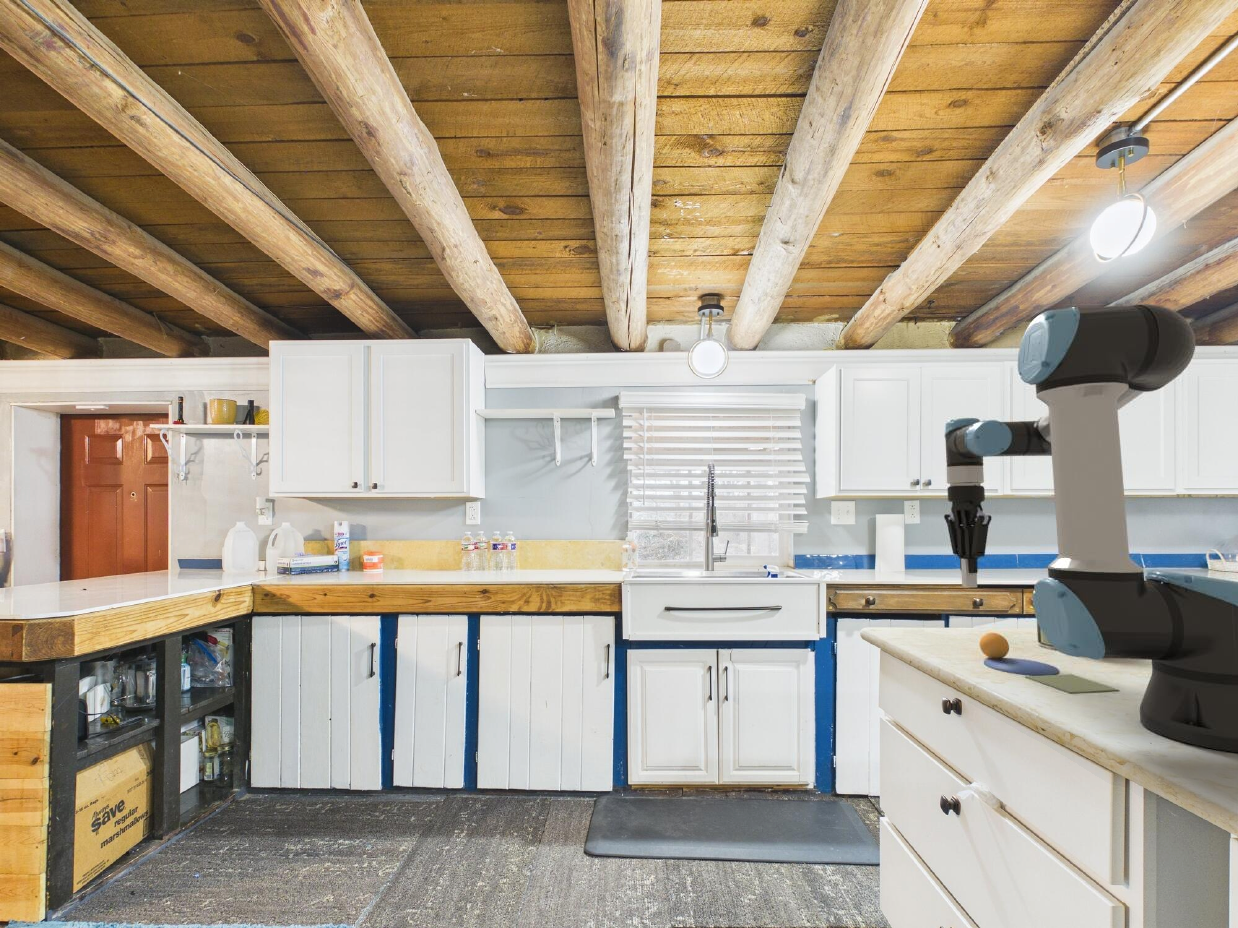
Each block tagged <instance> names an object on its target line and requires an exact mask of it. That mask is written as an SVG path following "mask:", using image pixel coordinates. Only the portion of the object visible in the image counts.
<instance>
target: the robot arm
mask: <svg viewBox="0 0 1238 928" xmlns="http://www.w3.org/2000/svg"><path fill="white" fill-rule="evenodd" d="M1195 350H1196V337H1195V332H1194V329H1193V328H1192V326H1191V325H1190V323H1189V322H1188V321H1187V320H1186V318H1185V317H1184V316H1182V315H1181V314H1180V313H1179V312H1177V311H1175V310H1173V309H1171V308H1167V307H1165V306H1162V305H1156V304H1149V303H1148V304H1145V303H1144V304H1134V305H1109V306H1084V307H1080V306H1079V307H1077V306H1071V307H1067V308H1062V309H1061V308H1060V309H1051V310H1046V311H1043V312H1042V313H1039V315H1037V316H1036V317H1035V318H1034V319H1033V320H1032V321H1031V322H1030V324H1029V325H1028V326H1027V328H1026V330H1025V332H1024V334H1023V337H1022V339H1021V342H1020V345H1019V350H1018V354H1017V370H1018V375H1019V376H1020V379H1021V380H1022V381H1023V382H1024V383H1026V384H1027V385H1031V386H1032V385H1033V386H1035V392H1036V393H1035V394H1036V398H1037V399H1038V400H1039V401H1041V402H1043V403H1044V404H1045V405H1046V406H1047V407H1048V411H1047V412H1046V413H1045V414H1044V415H1043V416H1041V417H1039V418H1038V419H1037V420H1024V421H1021V420H1020V421H999V420H996V419H987V420H980V419H979V418H976V417H962V418H955V419H949V420H948V421H947V422H946V423H945V427H944V428H945V429H944V432H945V433H944V439H945V441H944V442H945V456H946V457H945V458H946V483H947V484H948V485H949V486H948V487H947V501H948V502H950V503H952V504H951V509H950V510H951V512H950V513H948V514H944V516H943V518H944V520H945V522H946V525H947V529H948V534H949V539H950V540H949V541H950V545H951V550H952V554H953V555H954V556H955V555H956V556H957V557H958V558H959V562H960V568H959V569H960V572H961V587H962V588H966V589H967V588H968V589H969V588H970V589H971V588H972V589H973V588H978V571H979V569H978V559H980V558H982V557H983V558H984V557H985V554H986V548H987V547H986V546H987V540H988V534H989V532H988V531H989V526H990V523H991V521H992V518H993V517H992V515H990V514H989V515H988V514H986V513H984V512H983V511H984V509H983V506H982V503H983V502H985V500H986V496H985V495H986V494H985V493H986V492H985V487H984V485H982V484H983V483H985V478H984V476H985V475H984V458H985V457H986V458H987V457H1035V456H1037V457H1040V456H1041V457H1043V456H1044V457H1048V456H1050V457H1051V460H1052V461H1051V462H1052V478H1053V493H1054V505H1055V506H1054V507H1055V520H1056V521H1055V522H1056V537H1057V548H1058V549H1057V550H1058V555H1057V557H1056V558H1055V559H1054V560H1052V561H1051V562H1050V564H1048V565H1047V575H1048V577H1044V578H1042V579H1039V580H1038V581H1037V582H1036V583H1035V584H1034V585H1035V587H1034V586H1033V587H1034V590H1033V593H1032V605H1033V611H1034V616H1035V618H1036V623H1037V622H1038V624H1039V626H1040V628H1041V630H1042V632H1043V634H1044V635H1045V637H1046V638H1047V640H1048V641H1049V643H1050V644H1051V645H1052V646H1053V647H1054V648H1056V649H1057V650H1056V651H1058V652H1060V653H1061V654H1064V655H1066V656H1069V657H1077V658H1089V659H1092V660H1101V659H1112V660H1114V659H1116V660H1145V661H1146V660H1147V661H1148V660H1149V661H1150V660H1151V676H1150V679H1149V681H1148V684H1147V687H1146V689H1145V692H1144V695H1143V698H1142V700H1141V703H1140V706H1139V721H1140V724H1141V725H1142V726H1143V727H1145V728H1146V729H1148V730H1150V731H1151V732H1153V733H1156V734H1158V735H1161V736H1164V737H1165V738H1169V739H1173V740H1176V741H1178V742H1183V743H1186V744H1190V745H1193V746H1198V747H1199V746H1200V747H1203V748H1208V749H1214V750H1219V751H1226V752H1233V753H1238V581H1236V580H1235V581H1234V580H1230V579H1222V578H1215V577H1208V576H1207V577H1206V576H1201V575H1194V574H1193V575H1192V574H1187V573H1178V572H1171V571H1163V570H1155V569H1150V570H1147V572H1146V575H1145V573H1144V572H1145V571H1144V568H1143V567H1141V566H1140V565H1139V564H1137V563H1136V562H1135V561H1133V560H1132V558H1131V557H1130V549H1129V536H1128V525H1127V510H1126V501H1125V499H1126V497H1125V488H1124V487H1125V486H1124V477H1123V475H1124V473H1123V462H1122V449H1121V440H1120V439H1121V438H1120V437H1121V436H1120V424H1119V413H1118V411H1119V410H1120V409H1122V408H1123V407H1125V406H1126V405H1128V404H1129V403H1130V402H1132V401H1134V400H1135V399H1136V398H1138V397H1139V396H1140V395H1142V394H1143V393H1150V392H1154V391H1157V390H1160V389H1162V388H1163V387H1165V386H1166V385H1168V384H1169V383H1171V382H1172V381H1173V380H1175V379H1176V378H1177V377H1179V376H1180V375H1182V373H1183V372H1184V371H1185V369H1186V368H1188V366H1189V364H1190V363H1191V361H1192V359H1193V357H1194V354H1195Z"/></svg>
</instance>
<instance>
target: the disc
mask: <svg viewBox="0 0 1238 928" xmlns="http://www.w3.org/2000/svg"><path fill="white" fill-rule="evenodd" d="M983 664H984V666H986V667H988V668H990V667H991V669H993V668H994V670H997V671H999V672H1004V671H1005V672H1006V673H1010V674H1016V675H1024V676H1044V675H1059V674H1060V670H1059V668H1057V667H1056V666H1054V665H1051V664H1048V663H1045V662H1039V661H1037V660H1032V659H1031V660H1030V659H1023V658H1016V657H1014V658H1013V657H1003V658H1001V659H993V658H986V659H984V660H983Z"/></svg>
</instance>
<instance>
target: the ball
mask: <svg viewBox="0 0 1238 928" xmlns="http://www.w3.org/2000/svg"><path fill="white" fill-rule="evenodd" d="M978 644H979V648H980V651H981V652H982V653H983V654H984V655H985V656H986V657H987V658H988V659H990V658H993V659H1001V658H1006V656H1007V655H1008V653H1009V651H1010V645H1009V642H1008V640H1007V639H1006V637H1004V636H1003V635H1002V634H999V633H996V632H988V633H987V632H986V633H985V634H983V636H981V637H980V639H979V643H978Z"/></svg>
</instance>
